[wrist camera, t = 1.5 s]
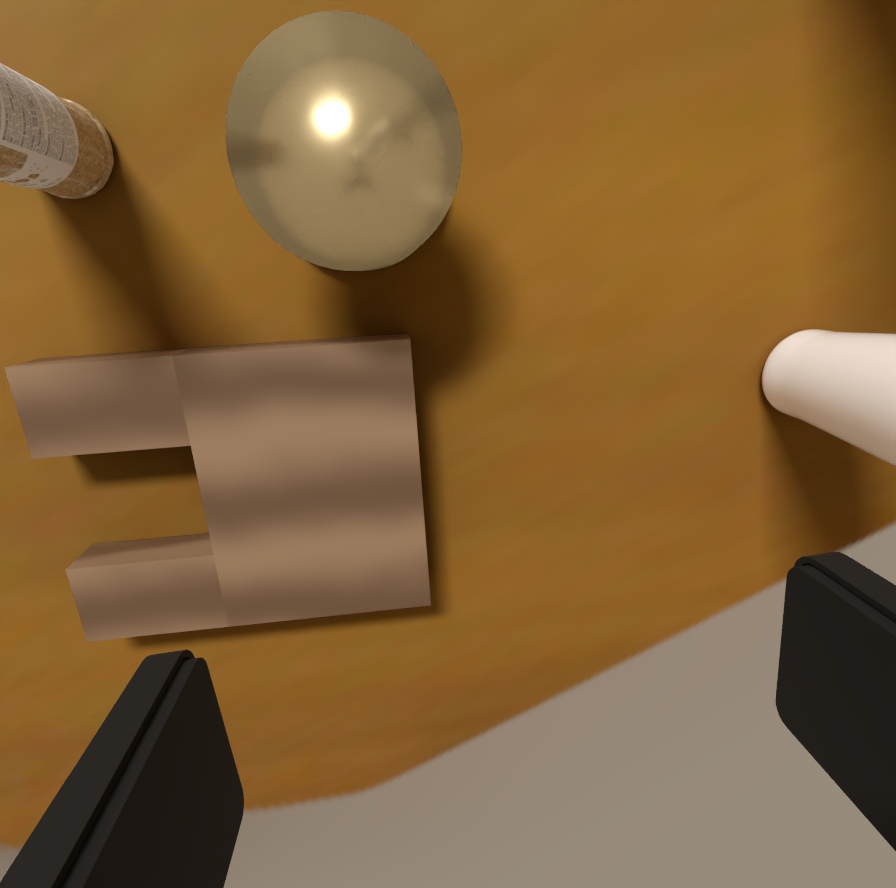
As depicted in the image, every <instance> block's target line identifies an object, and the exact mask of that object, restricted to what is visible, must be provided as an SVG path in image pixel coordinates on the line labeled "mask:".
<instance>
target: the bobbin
mask: <svg viewBox="0 0 896 888" xmlns="http://www.w3.org/2000/svg"><path fill="white" fill-rule="evenodd" d="M226 146H227V155H228V159H229V164H230V168H231V172H232V175H233V178H234V181H235V184H236V187H237V189H238V191H239V193H240V195H241V197H242V199H243V201H244V203H245V205H246V206H247V208H248V210H249V211H250V213H251V214H252V216H253V217H254V219H255V220H256V221H257V222H258V224H259V225H260V226H261V227H262V228H263V230H264V231H265V232H266V233H267V234H268V235H269V236H270V237H272V238H273V239H274V240H275V241H276V242H277V243H278V244H280V245H281V246H282V247H284V248H285V249H286V250H288V251H289V252H291V253H293V254H294V255H296V256H298V257H299V258H301V259H303V260H306V261H308V262H311V263H313V264H315V265H319V266H322V267H326V268H329V269H336V270H343V271H372V270H379V269H382V268H386V267H389V266H391V265H394V264H396V263H398V262H400V261H402V260H403V259H405V258H407V257H408V256H409V255H411V254H412V253H413V252H414V251H416V250H417V249H418V248H419V247H420V246H421V245H422V244H423V243H424V242H425V241H426V240H427V239H428V238H429V237H430V236H431V235H432V234H433V233H434V231H435V230H436V229H437V227H438V226H439V225H440V223H441V222H442V220H443V219H444V217H445V215H446V213H447V211H448V209H449V208H450V205H451V203H452V200H453V198H454V195H455V193H456V189H457V185H458V181H459V177H460V170H461V162H462V140H461V130H460V124H459V119H458V115H457V110H456V108H455V105H454V102H453V99H452V96H451V93H450V91H449V89H448V87H447V85H446V83H445V81H444V79H443V77H442V76H441V74H440V73H439V71H438V70H437V68H436V66H435V65H434V63H433V62H432V61H431V60H430V59H429V57H428V56H427V55H426V54H425V53H424V51H423V50H422V49H421V48H420V47H418V46H417V45H416V44H415V43H414V42H413V41H412V40H411V39H410V38H409V37H407V36H406V35H404V34H403V33H402V32H400V31H399V30H397V29H396V28H394V27H392V26H390V25H388V24H387V23H385V22H383V21H381V20H378V19H375V18H373V17H370V16H367V15H363V14H359V13H354V12H349V11H324V12H316V13H312V14H308V15H304V16H301V17H298V18H296V19H294V20H291V21H289V22H287V23H285V24H283V25H282V26H280V27H279V28H277V29H276V30H274V31H273V32H271V33H270V34H269V35H268V36H267V37H266V38H264V39H263V40H262V41H261V42H260V43H259V44H258V45H257V47H256V48H255V49H254V50H253V51H252V53H251V54H250V55H249V56H248V58H247V60H246V61H245V63H244V64H243V66H242V68H241V69H240V71H239V74H238V76H237V78H236V81H235V83H234V85H233V88H232V92H231V95H230V99H229V103H228V109H227V116H226Z"/></svg>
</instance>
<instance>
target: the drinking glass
mask: <svg viewBox="0 0 896 888" xmlns="http://www.w3.org/2000/svg"><path fill="white" fill-rule="evenodd" d="M762 388H763V392H764V395H765V397H766V398H767V400H768V402H769V403H770V404H771V405H772V406H773V407H774V408H775V409H777V410H778V411H780V412H782V413H784V414H787V415H789V416H792V417H795V418H797V419H800V420H802V421H804V422H807V423H809V424H811V425H813V426H815V427H817V428H819V429H821V430H823V431H825V432H827V433H829V434H831V435H833V436H835V437H837V438H839V439H841V440H843V441H845V442H847V443H849V444H851V445H853V446H855V447H857V448H859V449H861V450H863V451H865V452H867V453H869V454H871V455H873V456H875V457H877V458H879V459H881V460H883V461H885V462H887V463H889V464H891V465H893V466H895V467H896V334H890V333H856V332H835V331H828V330H819V329H810V330H803V331H800V332H797V333H794V334H792V335H790V336H788V337H787V338H785V339H784V340H782V341H781V342H780V343H779V344H778V345H777V346H776V347H775V348H774V349H773V350H772V352H771V353H770V355H769V356H768V358H767V360H766V362H765V365H764V368H763V372H762Z"/></svg>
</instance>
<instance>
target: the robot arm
mask: <svg viewBox="0 0 896 888" xmlns="http://www.w3.org/2000/svg"><path fill="white" fill-rule="evenodd" d="M776 706H777V710H778V713H779V716H780V718H781V719H782V721H783V723H784V724H785V725H786V727H787V728H788V729H789V730H790V731H791V733H792V734H793V735H794V736H795V737H796V738H797V739H798V740H799V742H800V743H801V744H802V745H803V746H804V747H805V748H806V749H807V751H808V752H809V753H810V754H811V755H812V756H813V758H814V759H815V760H816V761H817V762H818V763H819V764H820V766H821V767H822V768H823V769H824V770H825V771H826V772H827V773H828V774H829V776H830V777H831V778H832V779H833V780H834V781H835V783H837V785H838V786H839V787H840V788H841V789H842V791H843V792H844V793H845V794H846V795H847V796H848V797H849V798H850V800H851V801H852V802H853V803H854V804H855V805H856V806H857V808H858V809H859V810H860V811H861V812H862V813H863V814H864V816H865V817H866V818H867V819H868V820H869V821H870V822H871V824H872V825H873V826H874V827H875V828H876V829H877V830H878V831H879V833H880V834H881V835H882V836H883V837H884V838H885V839H886V840H887V842H888V843H889V844H890V845H891V846H892V847H893V849H894V850H895V851H896V586H895V585H894V584H892V583H891V582H889V581H888V580H886V579H884V578H883V577H881V576H879V575H878V574H876V573H874V572H873V571H871V570H870V569H868V568H866V567H865V566H863V565H861V564H860V563H858V562H856V561H855V560H853V559H852V558H850V557H848V556H847V555H845V554H842V553H840V552H831V553H824V554H817V555H811V556H804V557H801V558H799V559H798V560H797V561H796V563H795V566H794V567H793V568H791V569H790V570H789V572H788V574H787V580H786V592H785V603H784V614H783V625H782V636H781V647H780V658H779V669H778V680H777V691H776ZM243 809H244V796H243V789H242V786H241V782H240V779H239V775H238V772H237V768H236V765H235V761H234V757H233V754H232V750H231V747H230V743H229V740H228V736H227V733H226V729H225V726H224V722H223V719H222V715H221V712H220V708H219V705H218V701H217V698H216V694H215V691H214V687H213V684H212V680H211V677H210V673H209V670H208V666H207V663H206V661H205V660H204V659H203V658H195V657H194V655H193V654H192V652H191V651H189V650H181V651H175V652H168V653H161V654H155V655H150V656H147V657H146V658H145V659H144V660H143V661H142V663H141V664H140V666H139V667H138V669H137V671H136V672H135V674H134V675H133V677H132V678H131V680H130V682H129V683H128V685H127V686H126V688H125V689H124V691H123V692H122V694H121V696H120V697H119V699H118V700H117V702H116V703H115V705H114V707H113V708H112V710H111V711H110V713H109V714H108V716H107V717H106V719H105V721H104V722H103V724H102V725H101V727H100V728H99V730H98V731H97V733H96V735H95V736H94V738H93V739H92V741H91V742H90V744H89V746H88V747H87V749H86V750H85V752H84V753H83V755H82V756H81V758H80V760H79V761H78V763H77V764H76V766H75V767H74V769H73V770H72V772H71V774H70V775H69V776H68V778H67V779H66V781H65V782H64V784H63V785H62V787H61V788H60V790H59V792H58V793H57V795H56V796H55V798H54V799H53V801H52V802H51V804H50V806H49V807H48V809H47V810H46V812H45V813H44V815H43V816H42V818H41V820H40V821H39V823H38V824H37V826H36V827H35V829H34V831H33V832H32V834H31V835H30V837H29V838H28V840H27V841H26V843H25V845H24V846H23V848H22V849H21V851H20V852H19V854H18V856H17V857H16V859H15V860H14V862H13V864H12V865H11V866H10V868H9V869H8V871H7V873H6V874H5V876H4V877H3V879H2V881H1V882H0V888H223V887H224V883H225V880H226V875H227V872H228V869H229V864H230V861H231V858H232V854H233V850H234V846H235V843H236V839H237V835H238V832H239V828H240V824H241V821H242V816H243Z"/></svg>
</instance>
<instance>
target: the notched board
mask: <svg viewBox="0 0 896 888" xmlns="http://www.w3.org/2000/svg"><path fill="white" fill-rule="evenodd" d="M5 371H6V374H7V378H8V381H9V384H10V388H11V391H12V394H13V398H14V401H15V404H16V408H17V411H18V414H19V417H20V421H21V424H22V427H23V431H24V434H25V437H26V441H27V444H28V447H29V450H30V454H31V457H32V459H34V458H46V457H58V456H70V455H83V454H95V453H107V452H119V451H132V450H144V449H156V448H168V447H181V446H191V449H192V454H193V459H194V464H195V468H196V473H197V478H198V483H199V488H200V492H201V497H202V502H203V507H204V512H205V516H206V521H207V526H208V531H209V533H206V534H195V535H185V536H174V537H163V538H153V539H142V540H131V541H120V542H110V543H99V544H93V545H92V546H91V547H90V548H88V549H87V550H86V551H85V552H84V553H83V554H82V555H81V556H80V557H79V558H77V559H76V560H75V561H74V562H73V563H72V564H71V565H70V566H69V567H68V568H66V569H65V570H66V573H67V576H68V579H69V583H70V586H71V589H72V593H73V596H74V599H75V603H76V606H77V609H78V613H79V616H80V619H81V622H82V626H83V629H84V632H85V636H86V639H87V642H90V641H99V640H109V639H118V638H127V637H137V636H146V635H156V634H165V633H175V632H184V631H194V630H203V629H212V628H222V627H231V626H241V625H250V624H260V623H269V622H279V621H288V620H297V619H307V618H316V617H326V616H335V615H345V614H354V613H364V612H373V611H382V610H392V609H401V608H411V607H420V606H430V605H431V599H430V586H429V573H428V560H427V548H426V535H425V522H424V509H423V496H422V483H421V470H420V457H419V444H418V432H417V419H416V406H415V393H414V380H413V367H412V354H411V341H410V336H409V333H403V334H389V335H374V336H360V337H345V338H331V339H316V340H302V341H287V342H273V343H258V344H244V345H230V346H215V347H201V348H186V349H172V350H157V351H143V352H128V353H114V354H99V355H85V356H70V357H56V358H41V359H37V360H33V361H29V362H25V363H21V364H17V365H13V366H9V367H5Z"/></svg>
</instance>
